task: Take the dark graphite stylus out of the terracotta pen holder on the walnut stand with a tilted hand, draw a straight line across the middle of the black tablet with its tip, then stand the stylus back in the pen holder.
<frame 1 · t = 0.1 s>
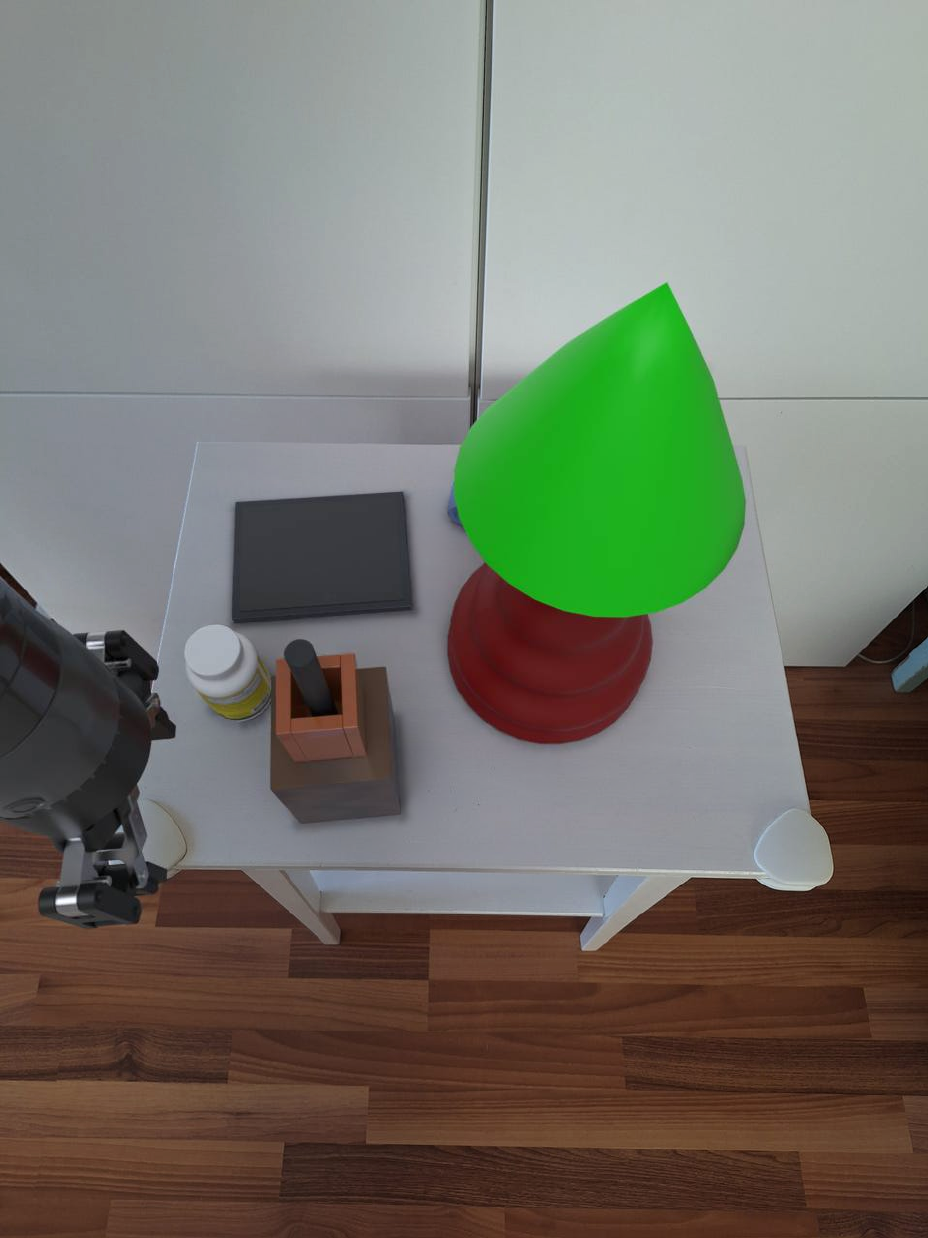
hand: (154, 804, 46), 24 cm above the table, tool pointing down, fingers open, 8 cm apart
pill bottle: (242, 693, 74), on the table
pen cup: (330, 725, 59), resting on stand
tablet: (322, 557, 81), on the table
decorative dice: (468, 512, 84), on the table
stylus: (329, 723, 58), point 14 cm above the table, touching pen cup
stand: (349, 770, 71), on the table
table lamp: (545, 650, 77), on the table
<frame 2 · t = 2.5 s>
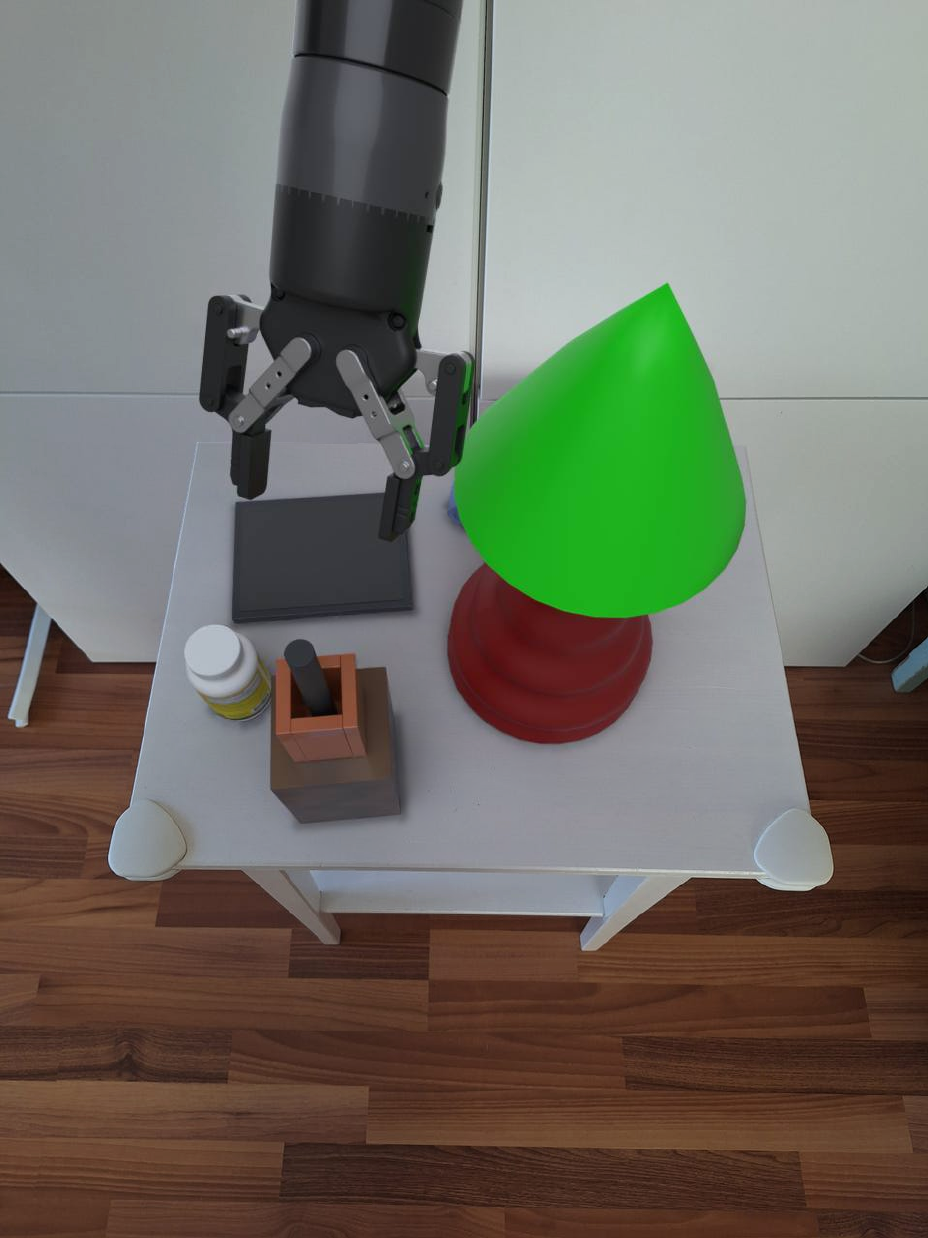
hand: (320, 515, 43), 34 cm above the table, tool tilted 40°, fingers open, 8 cm apart
nothing on the table moved.
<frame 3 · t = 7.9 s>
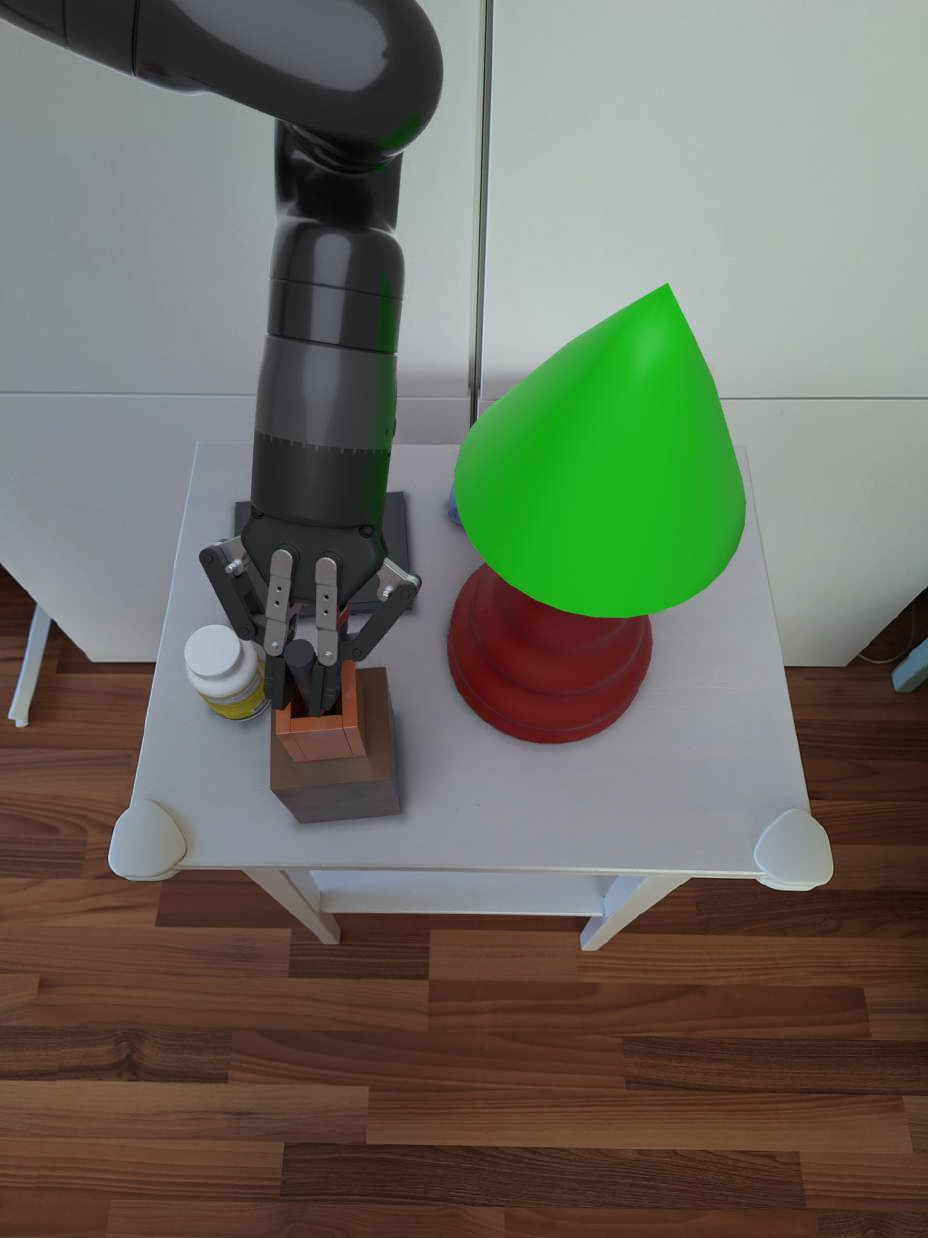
hand: (300, 707, 48), 24 cm above the table, tool tilted 45°, fingers closed on stylus, 2 cm apart
stylus: (328, 723, 58), point 15 cm above the table, touching gripper
everything else where it was.
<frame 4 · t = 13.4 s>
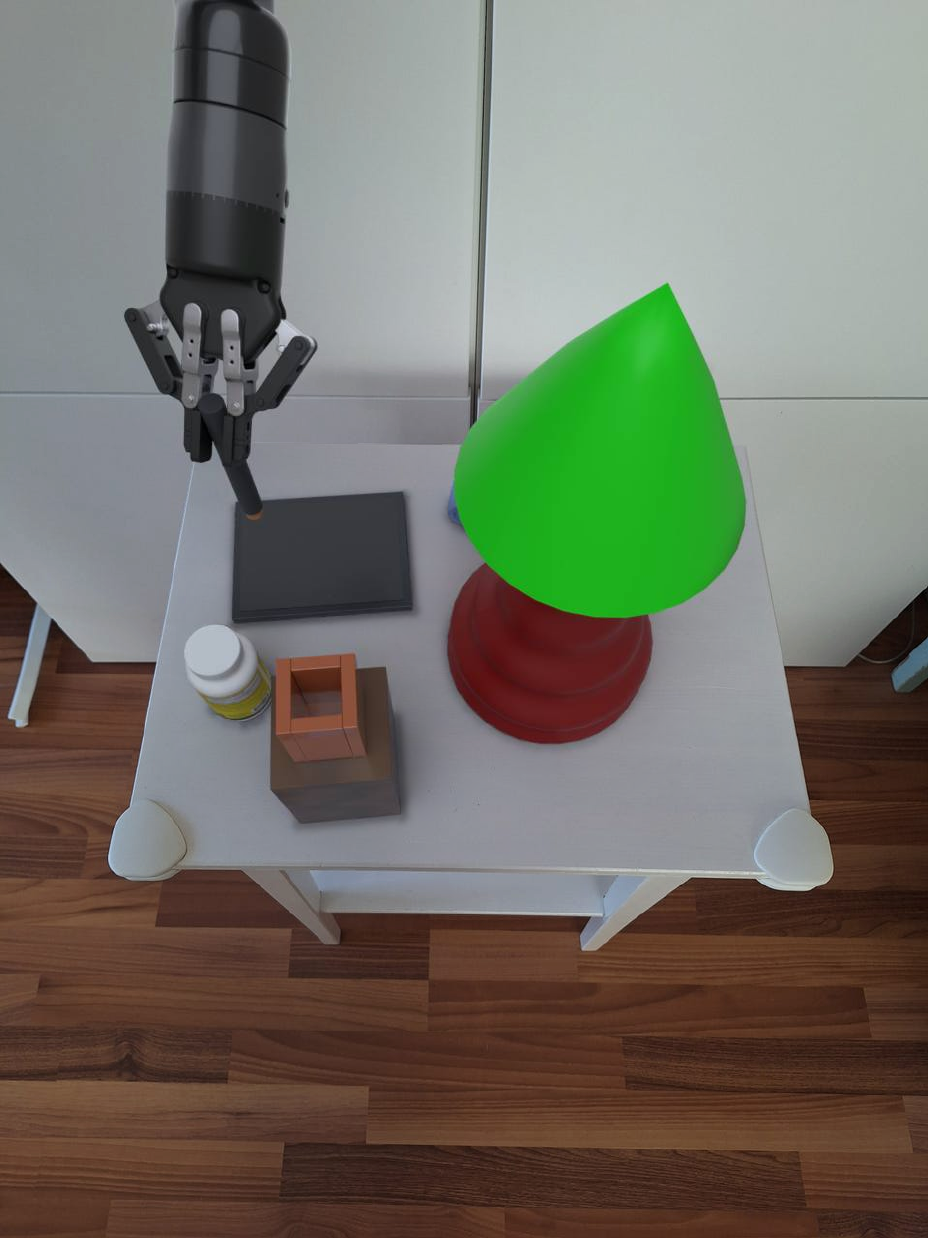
hand: (217, 462, 56), 24 cm above the table, tool tilted 45°, fingers closed on stylus, 2 cm apart
stylus: (254, 513, 66), point 15 cm above the table, touching gripper
everything else where it was.
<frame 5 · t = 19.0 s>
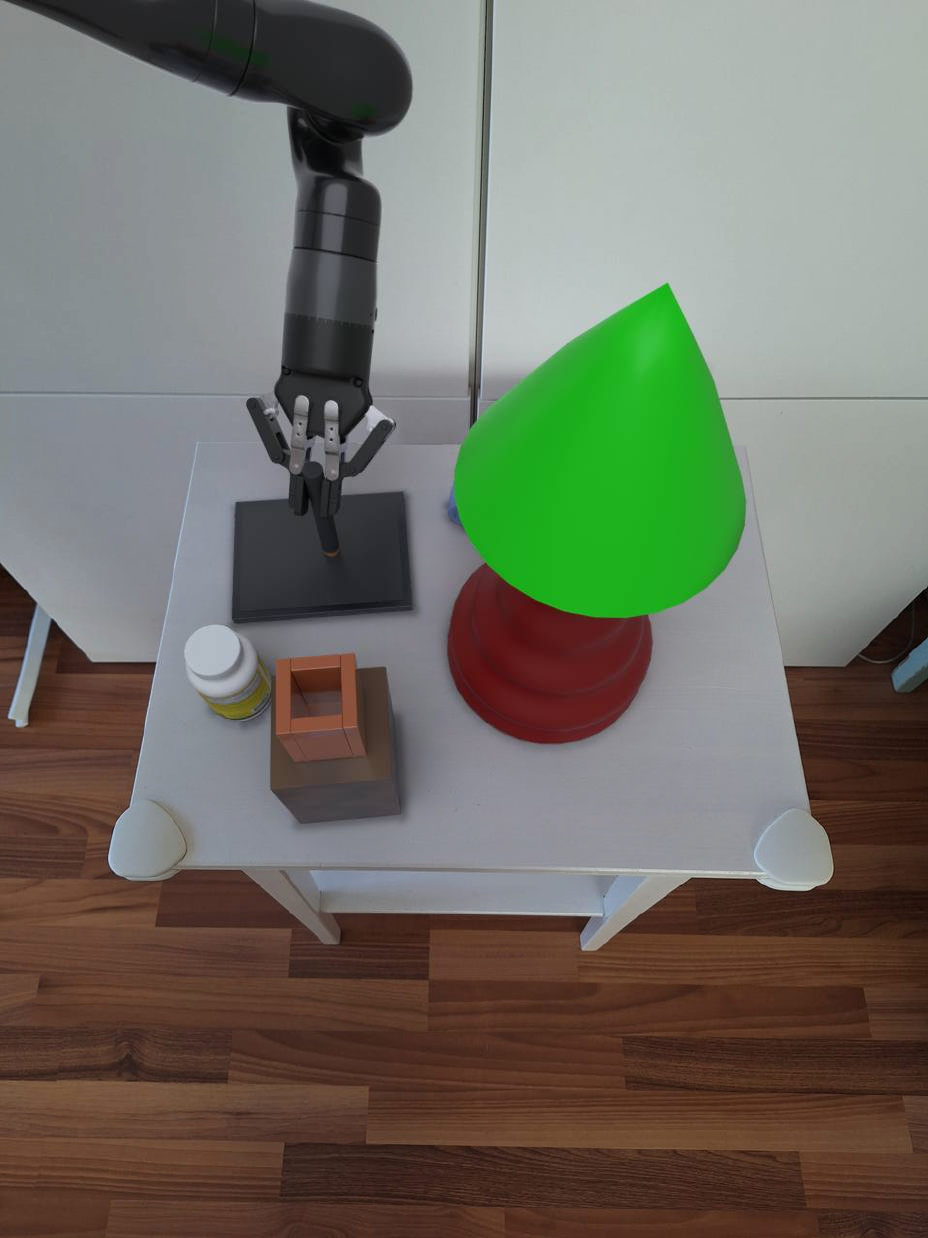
hand: (313, 515, 70), 11 cm above the table, tool tilted 45°, fingers closed on stylus, 2 cm apart
stylus: (331, 550, 80), point 1 cm above the table, touching gripper
everything else where it was.
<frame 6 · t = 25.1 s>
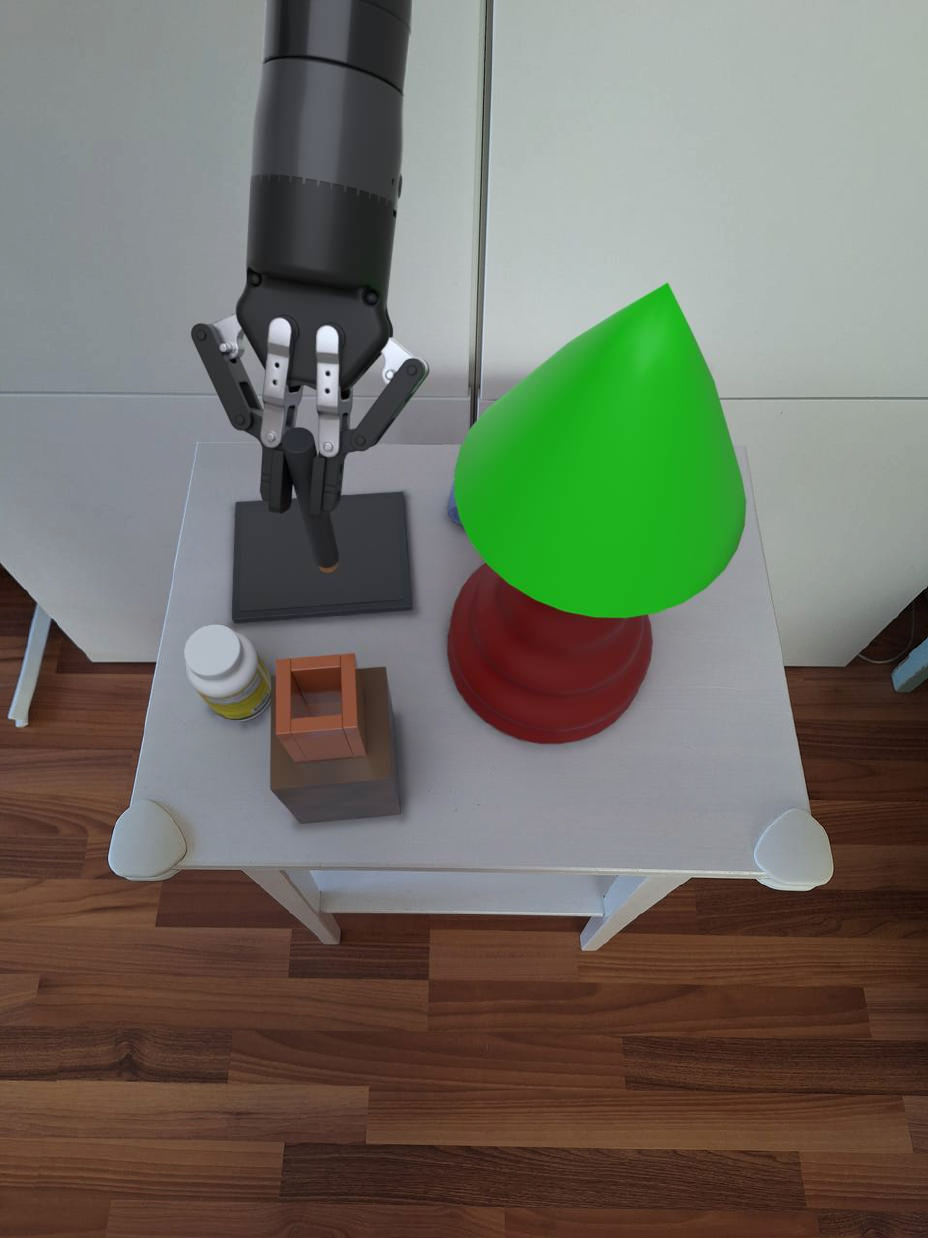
hand: (299, 512, 45), 32 cm above the table, tool tilted 45°, fingers closed on stylus
stylus: (328, 564, 55), point 22 cm above the table, touching gripper
everything else where it was.
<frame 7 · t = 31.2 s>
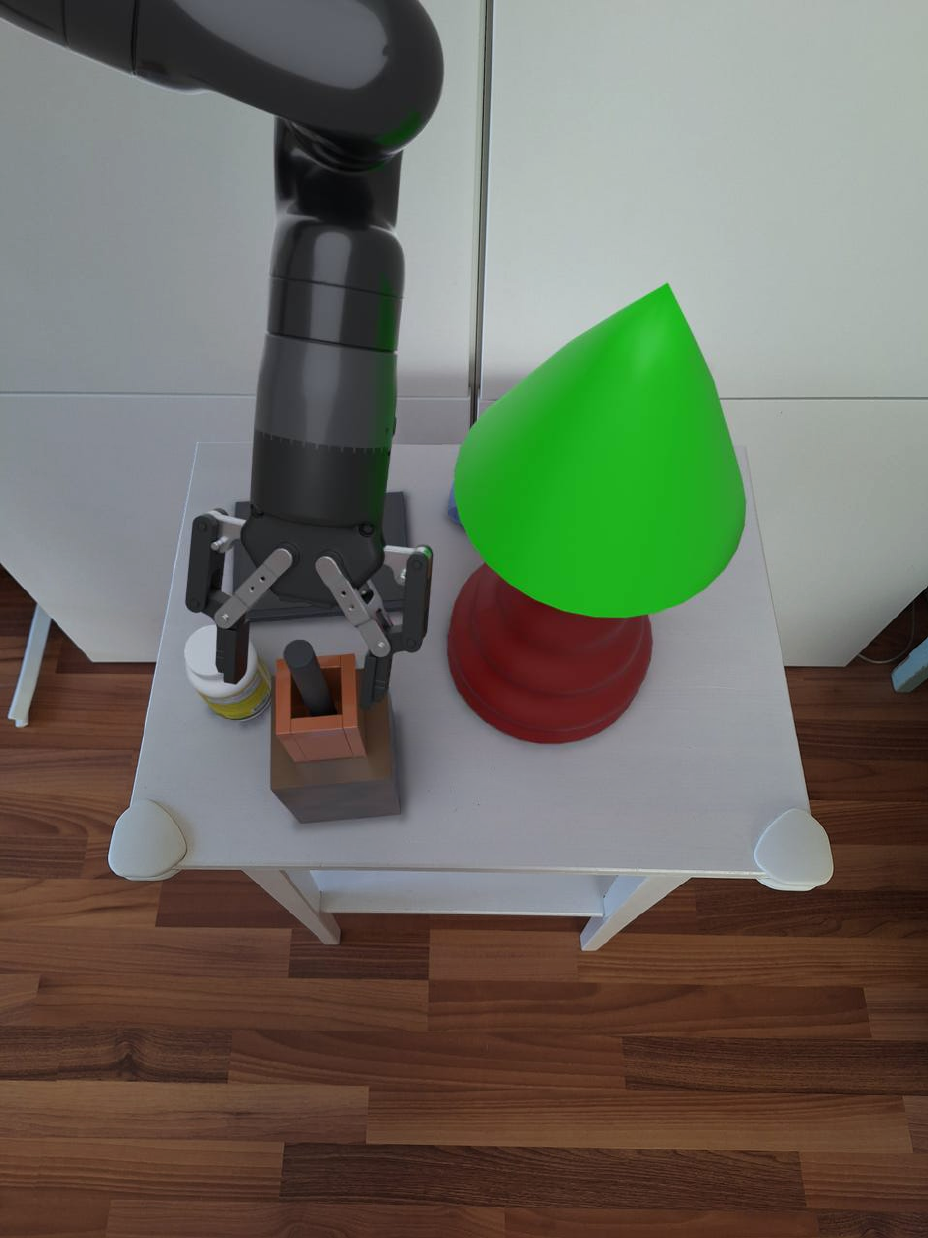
hand: (301, 691, 48), 25 cm above the table, tool tilted 45°, fingers open, 8 cm apart
stylus: (328, 723, 58), point 14 cm above the table, touching pen cup
everything else where it was.
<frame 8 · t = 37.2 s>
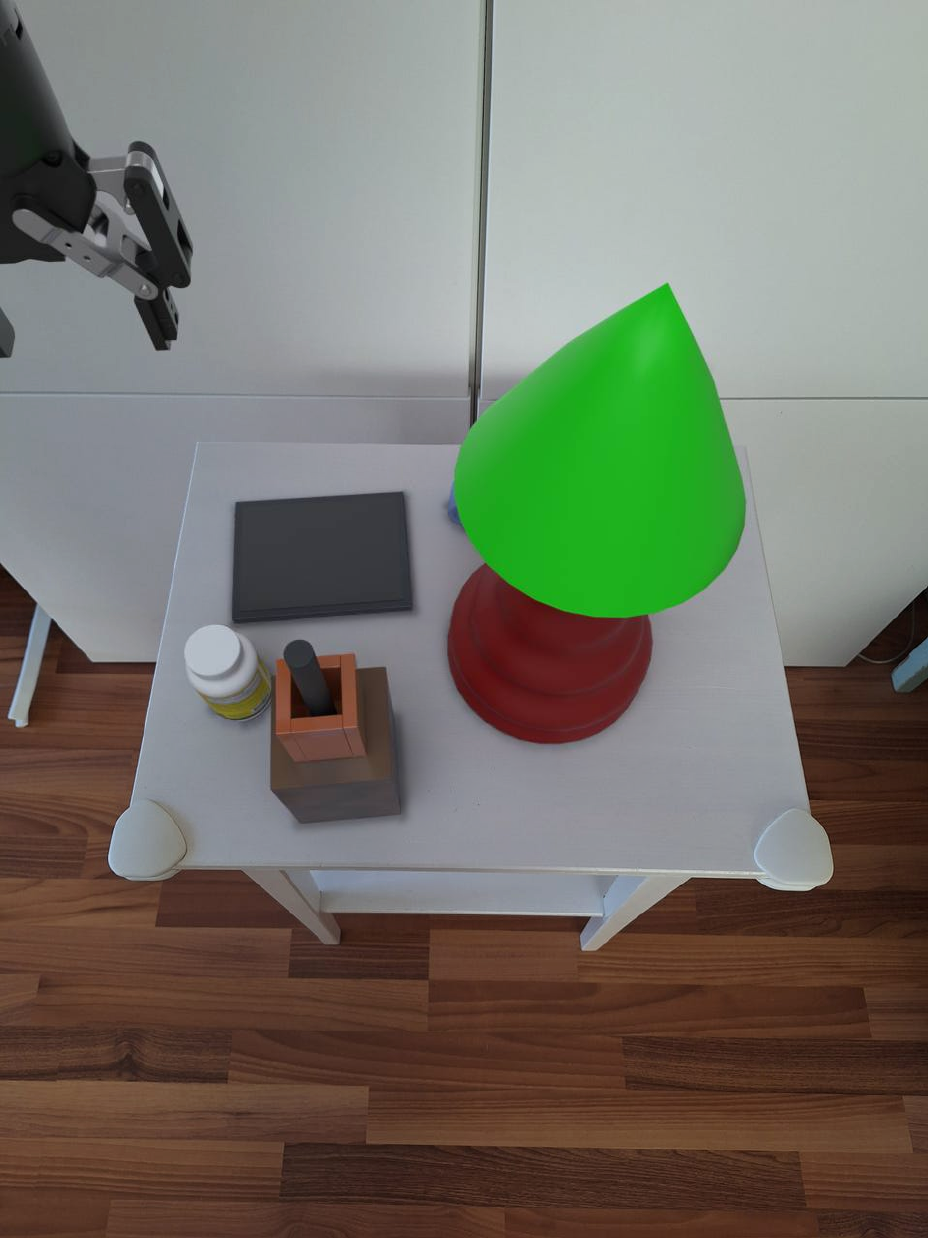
hand: (87, 343, 43), 38 cm above the table, tool pointing down, fingers open, 8 cm apart
nothing on the table moved.
at the end: stylus 0.0 cm off-centre on the pen cup, point 0.5 cm above the pen cup's base; the gripper is holding nothing; stylus touching pen cup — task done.
